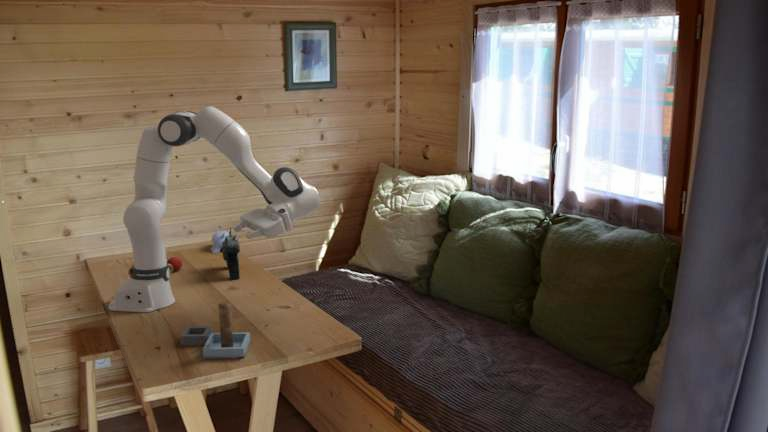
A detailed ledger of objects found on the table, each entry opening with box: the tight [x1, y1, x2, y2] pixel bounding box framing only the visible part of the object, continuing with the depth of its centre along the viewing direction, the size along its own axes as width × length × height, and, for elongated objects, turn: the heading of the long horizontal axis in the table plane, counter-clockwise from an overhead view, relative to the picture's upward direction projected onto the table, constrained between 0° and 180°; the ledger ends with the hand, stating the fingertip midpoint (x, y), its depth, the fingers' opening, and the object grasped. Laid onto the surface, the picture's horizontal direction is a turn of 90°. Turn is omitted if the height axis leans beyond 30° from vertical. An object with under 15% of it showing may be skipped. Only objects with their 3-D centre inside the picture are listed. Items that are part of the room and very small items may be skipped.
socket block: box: [179, 325, 213, 347], centre depth 222 cm, size 8×8×3 cm
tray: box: [202, 331, 252, 360], centre depth 214 cm, size 12×12×3 cm
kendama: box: [167, 256, 183, 275], centre depth 287 cm, size 8×6×18 cm
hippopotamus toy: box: [210, 230, 229, 254], centre depth 320 cm, size 11×15×10 cm
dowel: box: [218, 301, 234, 348], centre depth 213 cm, size 4×4×14 cm
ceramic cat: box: [222, 226, 241, 281], centre depth 284 cm, size 20×6×20 cm, turn 17°
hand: (241, 233), depth 229 cm, fingers open, 8 cm apart
